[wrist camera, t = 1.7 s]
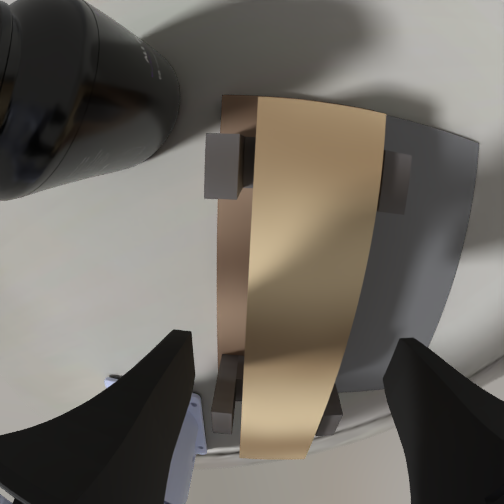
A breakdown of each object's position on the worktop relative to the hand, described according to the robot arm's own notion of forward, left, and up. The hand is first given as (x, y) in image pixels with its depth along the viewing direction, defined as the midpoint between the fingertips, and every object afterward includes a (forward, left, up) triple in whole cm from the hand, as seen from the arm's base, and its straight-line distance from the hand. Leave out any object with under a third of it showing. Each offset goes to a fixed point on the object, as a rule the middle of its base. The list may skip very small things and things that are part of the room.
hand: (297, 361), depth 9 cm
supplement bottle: (+9, +9, -7) cm, 15 cm away
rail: (0, 0, -4) cm, 4 cm away
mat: (0, -7, -7) cm, 10 cm away
